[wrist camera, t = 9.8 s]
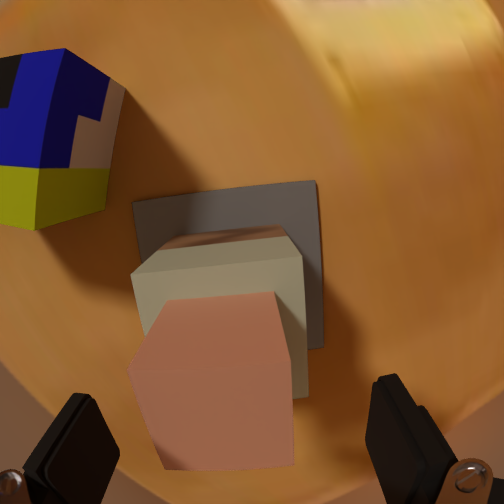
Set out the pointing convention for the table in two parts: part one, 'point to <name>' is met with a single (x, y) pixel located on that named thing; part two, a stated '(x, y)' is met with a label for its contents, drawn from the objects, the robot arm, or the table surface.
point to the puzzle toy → (54, 137)
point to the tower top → (232, 286)
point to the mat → (240, 216)
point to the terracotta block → (217, 384)
